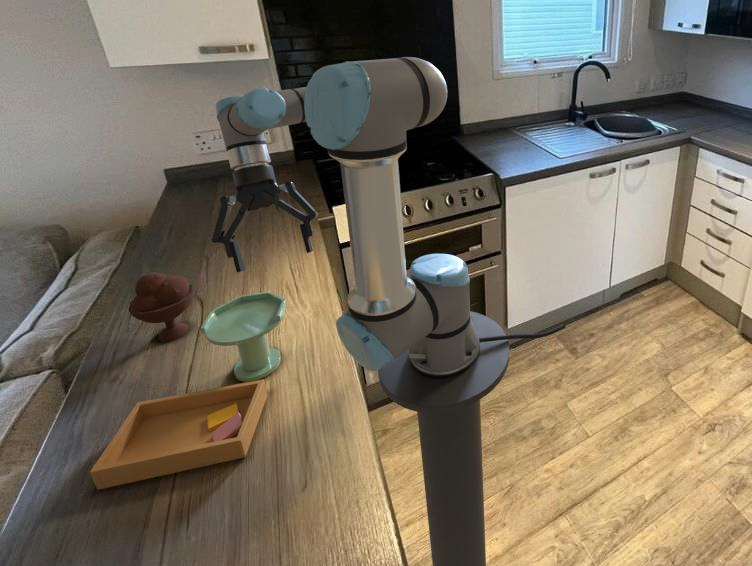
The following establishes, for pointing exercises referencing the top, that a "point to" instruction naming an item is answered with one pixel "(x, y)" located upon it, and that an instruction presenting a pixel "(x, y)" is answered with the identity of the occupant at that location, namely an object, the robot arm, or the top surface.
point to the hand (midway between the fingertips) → (276, 261)
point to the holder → (178, 435)
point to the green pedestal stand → (248, 332)
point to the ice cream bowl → (162, 302)
